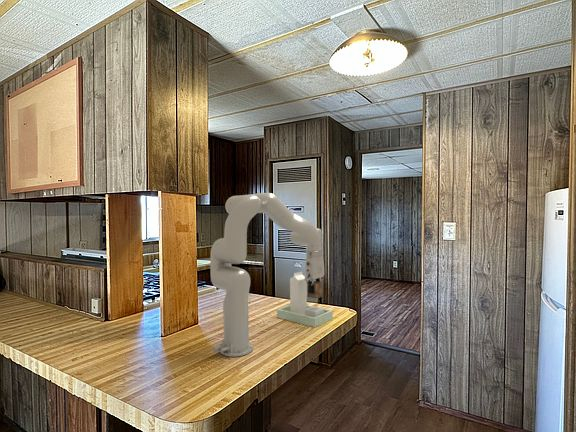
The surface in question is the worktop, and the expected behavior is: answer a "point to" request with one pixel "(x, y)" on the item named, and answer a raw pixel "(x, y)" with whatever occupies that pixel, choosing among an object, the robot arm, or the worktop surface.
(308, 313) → the white block
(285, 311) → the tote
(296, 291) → the milk
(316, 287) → the walnut block
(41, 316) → the worktop surface
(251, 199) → the robot arm
